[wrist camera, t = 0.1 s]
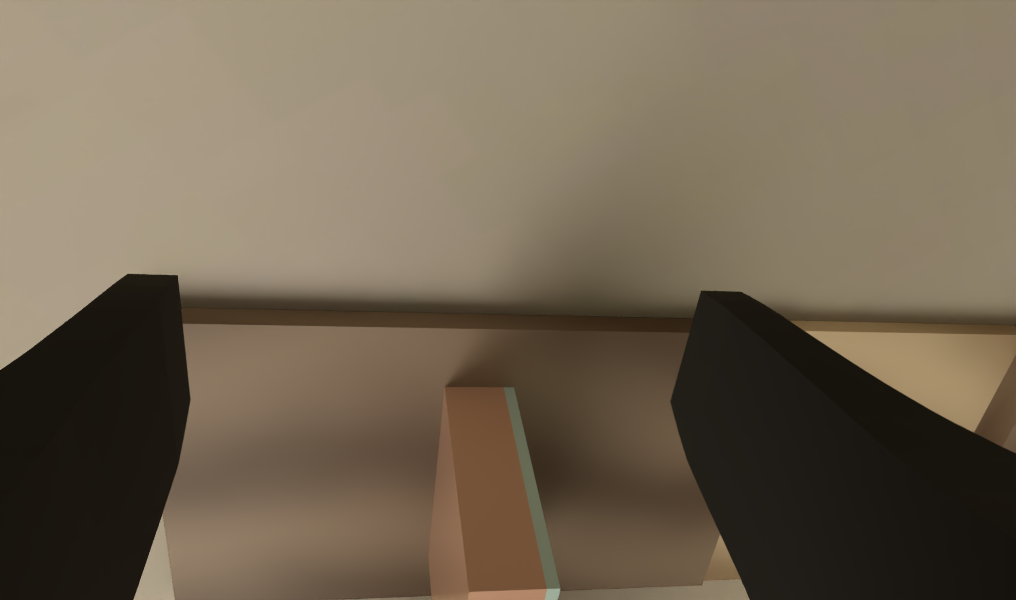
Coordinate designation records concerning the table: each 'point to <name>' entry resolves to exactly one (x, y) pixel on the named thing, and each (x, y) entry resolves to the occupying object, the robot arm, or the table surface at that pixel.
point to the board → (416, 432)
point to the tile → (487, 504)
